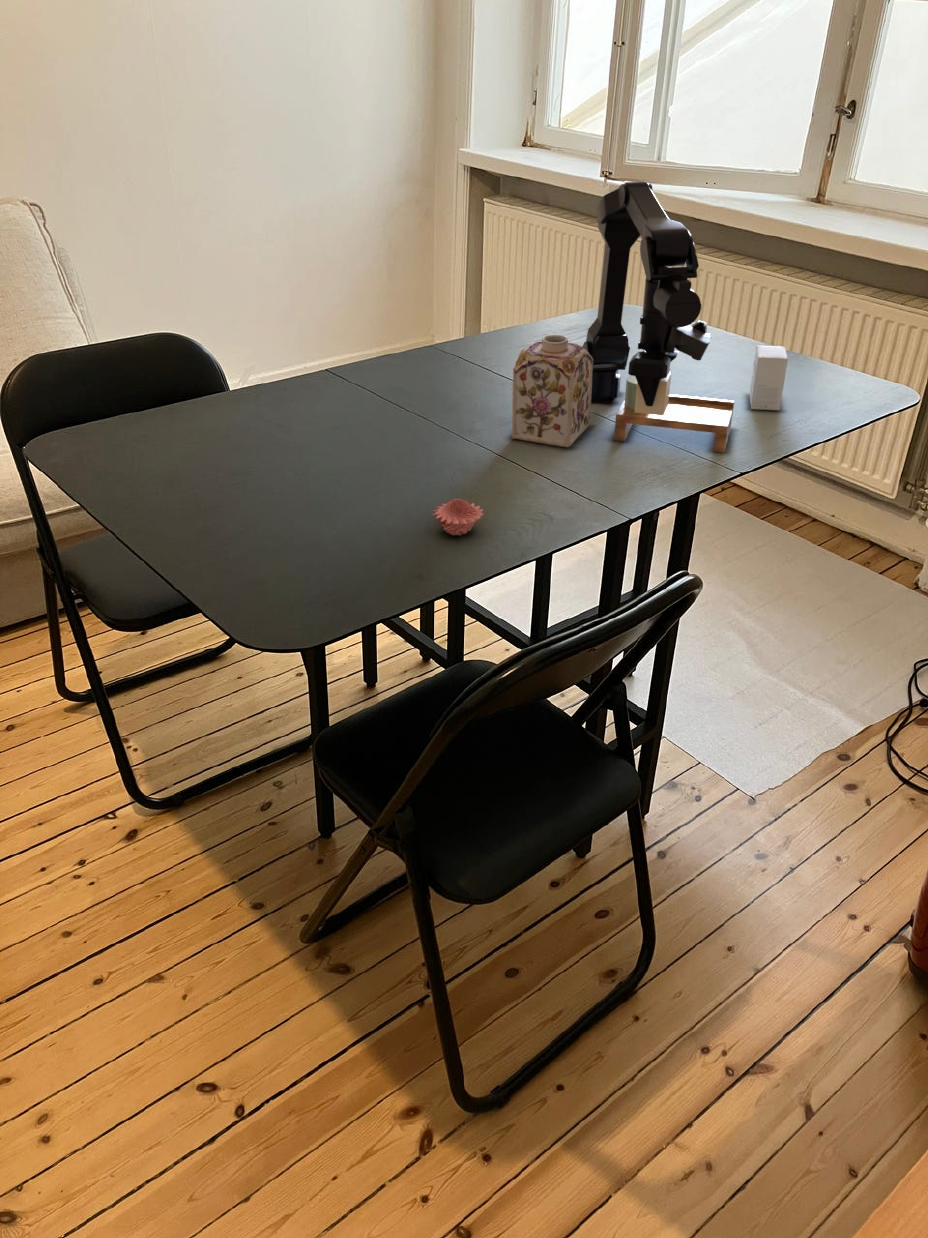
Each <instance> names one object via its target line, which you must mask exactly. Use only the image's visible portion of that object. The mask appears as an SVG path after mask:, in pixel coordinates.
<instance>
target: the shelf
mask: <svg viewBox="0 0 928 1238" xmlns="http://www.w3.org/2000/svg"><path fill="white" fill-rule="evenodd" d="M734 407H735V400H732V399H731V400H729V399H720V398H710V397H699V396H689V395H680V394H670V393H669V401H668V406H667V409H666V411H665V414H664V415H654V414H644V413H635V410H632V409H629V408H627V407H625V398H624V399H623V401H622V403H621V405H620V407H619V408H618V410H617V412H616V414H615V421H614V422H615V423H614V435H613V440H614V441H619V442H625V441H626V440H627V438H628V435H629V433H630V431H631V429H632V427H633V425H638V426H647V427H654V428H655V427H656V428H667V429H675V430H685V431H693V432H703V433H713V434H714V440H713V447H712V452H715V453H725V452H726V447H727V444H728V441H729V437H730V433H731V429H732V422H733V414H734Z"/></svg>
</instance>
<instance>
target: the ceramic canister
mask: <svg viewBox="0 0 928 1238" xmlns="http://www.w3.org/2000/svg"><path fill="white" fill-rule="evenodd" d="M625 381H626V382H625V392H624V393H625V395H624V399H625V407H627V408H629V409H632V410H635V401H636V389H637V380H636V378H635V376H632V375H629V376H628V377H627V378H626V380H625Z"/></svg>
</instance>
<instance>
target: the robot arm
mask: <svg viewBox="0 0 928 1238" xmlns="http://www.w3.org/2000/svg"><path fill="white" fill-rule="evenodd" d="M595 215H596V221H597V226H598V227H597V228H598V231H599V232H600V235H601V238H602V239H603V241H604V251H603V262H602V272H601V280H600V290H599V297H598V298H599V299H598V309H597V317H596V318H595V320H594V321H593V323H592V324H591V325H590V327H589V328H588V329H587V332H586V340H585V341H584V342H583V344H582V345H581V346H582V347H583V348H584V349H585V350H587V352H588V353H589V354H590V355H591V357H592V359H593V360H594V361H593V370H592V394H591V403H602V404H614V403H615V401H616V399H617V398H618V397H619V395H620V393H621V392H620V390H621V377H622V374H620V373H619V371H625V370H626V367H627V365H628V372H627V373H628V375H629V376H635V378H636V380H637V382H638V385H639V387H640V390H641V393H642V396H643V398H644V401H645V404H646V406H653V403H654V400H655V397H656V393H657V390H658V386H659V383H660V380H661V379H662V378H667V376H668V374H669V372H671V370H672V369H671V362H673V361H674V360H675V359H676V358H677V357H678V354H679V352H681V353H683V354H685V355H687V356H689V357H691V358H692V359H693V360H695V361H701V360H702V358H703V357H704V355H705V353H706V350H707V349H708V347H709V344H711V339H712V336H711V333H710V332H708V333H707V329H708V328H707V327H708V326H707V323H706V322H705V321H702V320H700V319H699V320H697V319H698V317H699V316H700V313H701V310H702V302H701V298H700V296H699V295H698V294H697V292H695V291H694V290H693V289H692V281H691V280H690V279H696V278H698V268H699V261H698V254H697V250H696V245H695V242H694V238H693V235H692V234H691V233H690V231H689V230H688V228H687V227H686V226H685V225H684V224H683V223H682V222H680V221H676V220H673V219H670V218H669V217H668V215H667V214H666V212H665V211H664V208H663V207H662V205H661V204H660V202H659V200H658V199H657V197H656V195H655V194H654V190H653V185H652V183H651V182H648V181H625V182H624V183H621V184H620V185H619V187H618V188H616V189H614V190H612V191H610V192H608V193H606V194H604V195H603V196H602V198H601V199H600V201H598V203H597V206H596V214H595ZM640 237H641V240H640V245H639V255H640V259H641V262H642V266H643V270H644V274H645V283H644V293H643V305H642V314H641V316H640V318H639V325H641V329H640V338H639V340H638V342H637V350H642V351H637V352H636V353H635V354H634V355H633V356H632V357H631V359H630V361H629V363H628V360H629V355H630V351H631V345H630V344H629V338H628V335H627V333H626V330H625V329H624V326H623V325H622V321H623V314H624V313H623V311H624V304H625V295H626V287H627V281H628V280H627V278H628V270H629V263H630V254H631V249H632V247H633V246H634V245H635V244H636V242H637V241H638V239H640ZM685 265H686V266H685ZM696 320H697V321H696ZM695 321H696V322H695ZM675 350H676V351H675Z"/></svg>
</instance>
